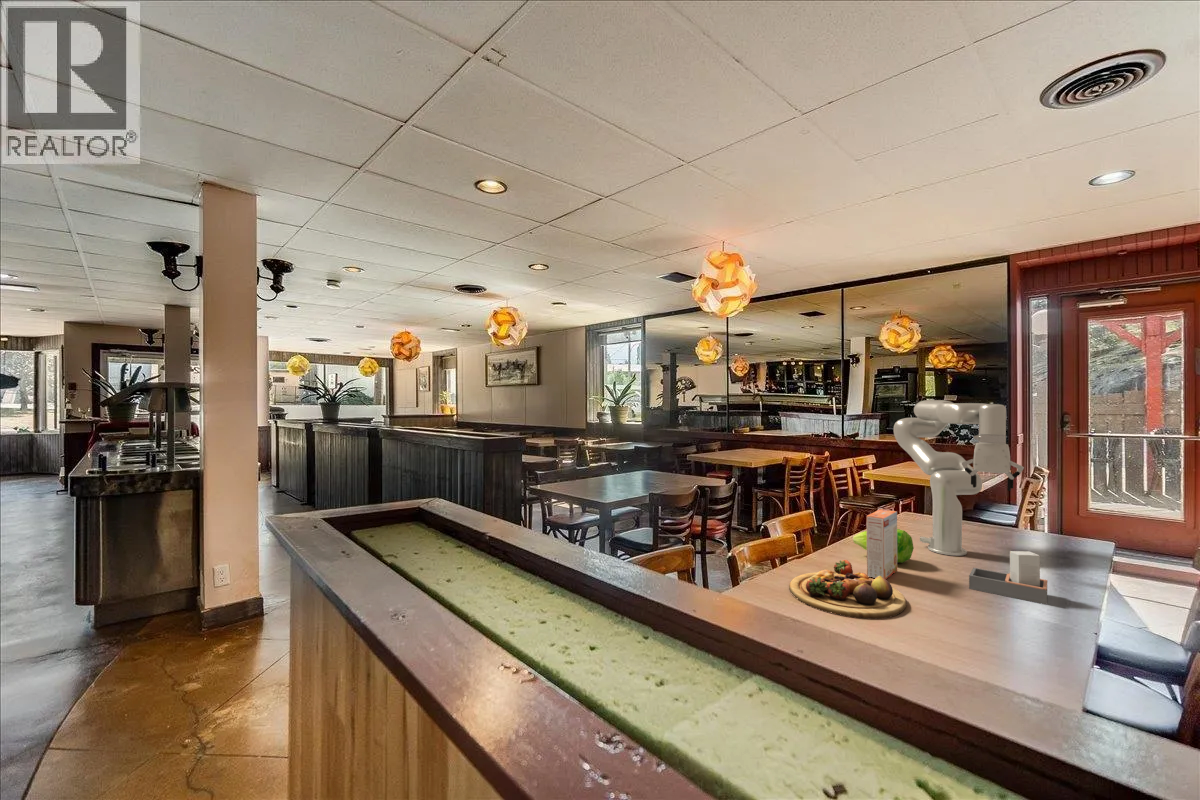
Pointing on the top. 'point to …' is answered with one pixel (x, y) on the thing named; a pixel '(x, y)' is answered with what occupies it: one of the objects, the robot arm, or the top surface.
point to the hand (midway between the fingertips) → (991, 488)
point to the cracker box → (881, 543)
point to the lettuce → (903, 544)
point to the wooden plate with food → (848, 593)
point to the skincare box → (1025, 568)
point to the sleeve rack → (1006, 586)
